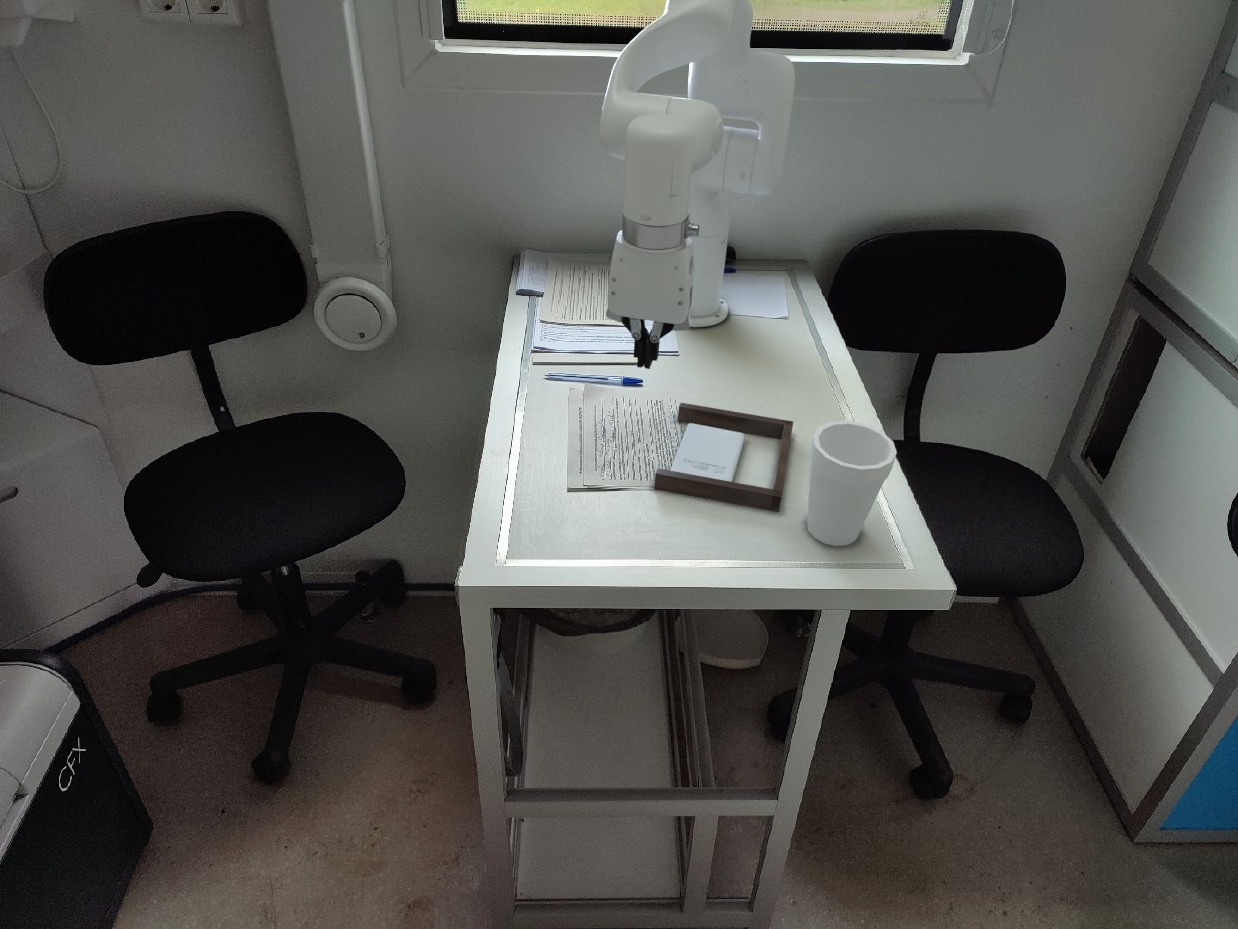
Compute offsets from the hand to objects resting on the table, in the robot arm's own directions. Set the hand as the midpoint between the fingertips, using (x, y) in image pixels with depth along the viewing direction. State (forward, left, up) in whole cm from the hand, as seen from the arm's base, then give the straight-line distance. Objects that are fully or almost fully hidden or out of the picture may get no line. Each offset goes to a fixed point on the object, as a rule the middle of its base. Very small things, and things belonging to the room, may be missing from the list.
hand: (645, 362), depth 112 cm
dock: (+1, +12, -13) cm, 17 cm away
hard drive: (+2, +10, -13) cm, 16 cm away
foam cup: (+11, +27, -13) cm, 32 cm away
